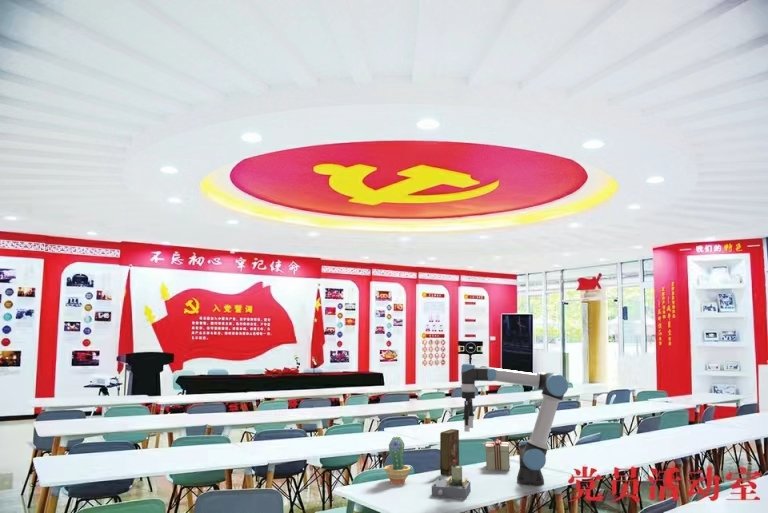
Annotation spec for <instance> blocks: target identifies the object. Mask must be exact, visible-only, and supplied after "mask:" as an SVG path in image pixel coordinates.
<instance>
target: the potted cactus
mask: <svg viewBox="0 0 768 513" xmlns="http://www.w3.org/2000/svg"><path fill="white" fill-rule="evenodd" d="M388 452H389V455H390V457H391V462H392V464H389V465H385V466H384V471H385V472H386V475H387V477H388V479H389V483H390V484H393V485H401V484H405V483H406V479H407V478H408V477H409V473H410V472H411V469H412V468H411V466H408V465H406V464H404V452H405V443H404V441H403V439H402V437H401V436H399V437H398V436H393V437H392V438H391V440H390V442H389V444H388Z"/></svg>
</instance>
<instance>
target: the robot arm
mask: <svg viewBox="0 0 768 513" xmlns="http://www.w3.org/2000/svg"><path fill="white" fill-rule="evenodd" d="M460 373H461V374H460V375H461V384H460V387H461V399H465V400H464V402H463V403H464V407H463V417H462V420H463V422H464V423H463V424H464V425H463V426H464V432H465V433H466V432H467V433H469V432H470V429H474V416H475V414H474V408H473V407H474V405H473V404H474V403H473V399H475V398H476V392H475V391H476V382H478V381H479V382H480V381H481V382H500V383H506V384H507V383H509V384H515V385H521V386H526V387H534V388H535V389H537V390H541V395H542V401H541V404H540V407H539V410H538V414H537V417H536V421H535V423H534V426H533V431H532V433H531V436H530V438H529V439H528V440H520V441H519V442H518V443H519V444H518V448H519V449H518V450H519V453H518V454H519V469H518V471H517V472H518V473H517V476H516V482H517V484H520V485H523V486H532V487H533V486H535V487H536V486H542V485H544V484H545V479H544V475H543V473H542V469H543V468H544V466H545V465H546V463H547V462H546V461H547V457H546V456H547V453H548V449H549V448H548V446H547V442H548V439H549V436H550V433H551V430H552V426H553V423H554V419H555V416H556V412H557V409H558V407H559V406H558V405H559V403H561V402H563V400H564V396H565V394H566V393H567V391H568V388H569V383H568V380H567V378H565V377H564V375H562V374H560V373H556V372H536V373H534V372H533V373H532V372H526V371H521V370H520V371H518V370H511V369H505V368H504V369H503V368H497V367H491V366H484V365H483V366H479V367H477V366H475V364H474V363H463V364H461V372H460Z"/></svg>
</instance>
